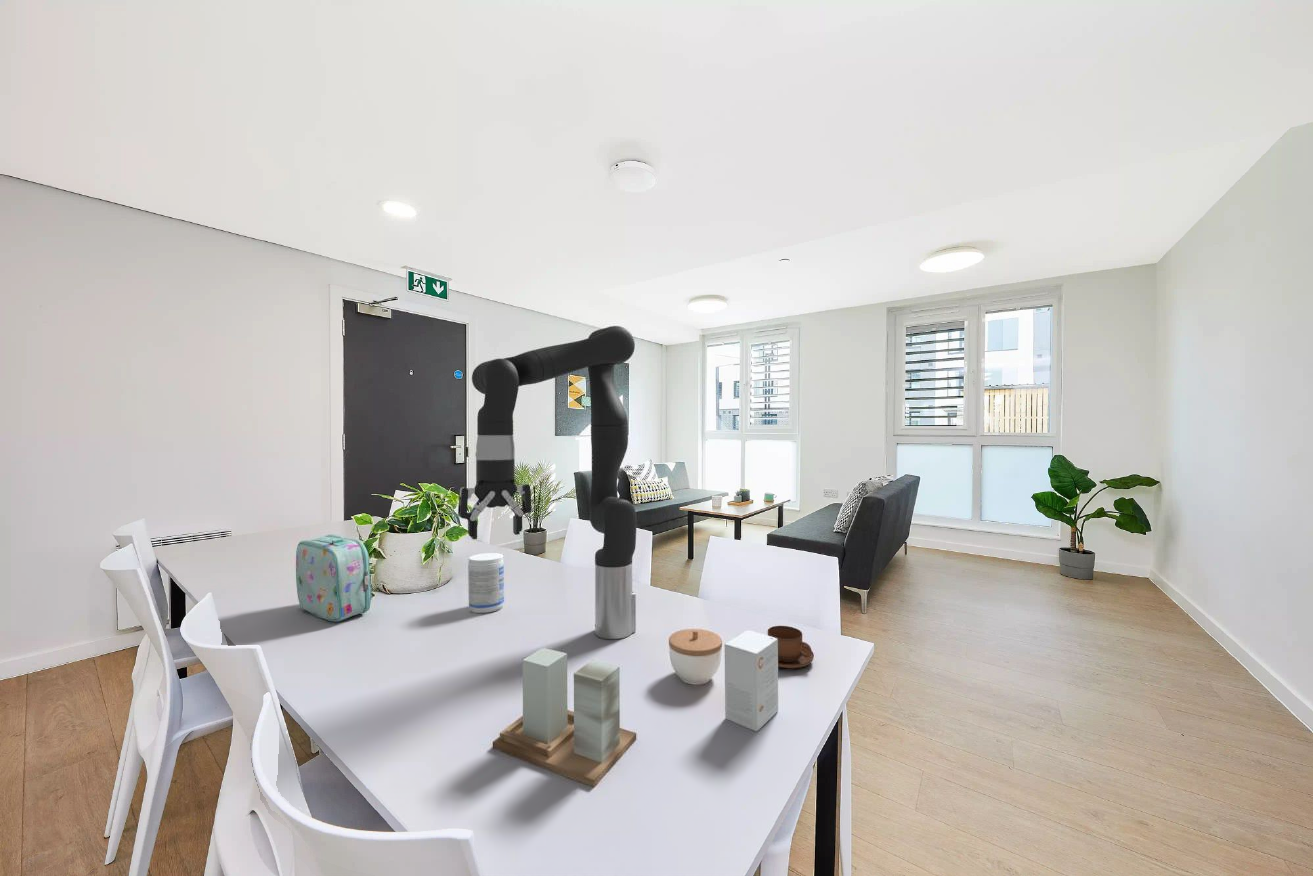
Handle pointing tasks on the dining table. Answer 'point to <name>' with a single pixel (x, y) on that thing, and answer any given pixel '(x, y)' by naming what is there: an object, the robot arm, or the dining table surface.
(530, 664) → the sage block
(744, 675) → the small box
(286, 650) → the dining table surface
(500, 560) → the supplement tub
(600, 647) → the dining table surface
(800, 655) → the cup and saucer
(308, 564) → the lunch box
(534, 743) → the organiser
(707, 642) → the lidded jar
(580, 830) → the dining table surface
